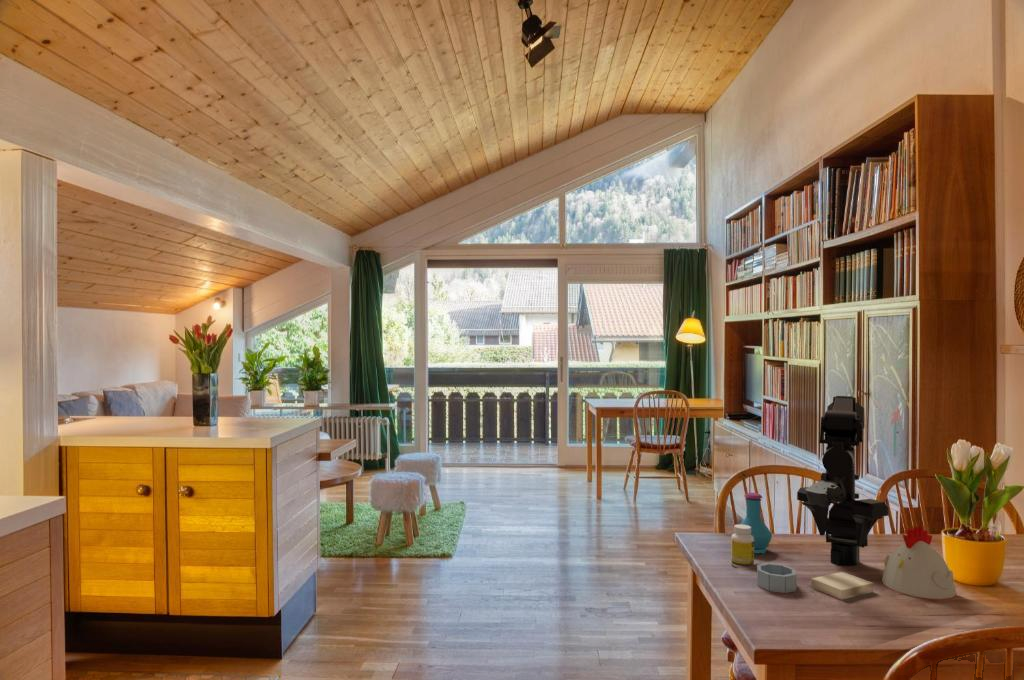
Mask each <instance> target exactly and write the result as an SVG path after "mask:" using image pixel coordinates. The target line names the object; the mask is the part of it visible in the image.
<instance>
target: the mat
mask: <svg viewBox="0 0 1024 680" xmlns="http://www.w3.org/2000/svg"><path fill="white" fill-rule="evenodd" d="M806 587H809V588H811V584H808V585H806ZM812 589H813V590H815V589H814V588H812ZM817 591H819V590H817ZM819 592H820V591H819ZM822 593H823V594H825V593H824V592H822ZM827 595H828V596H831V595H829V594H827ZM874 596H879V593H876V592H874V591H873V592H871V593H867V594H863V595H859V596H855V597H851V598H847V599H843V600H841V599H839V600H840V601H843V602H845V603H850V602H853V601H857V600H861V599H865V598H870V597H874ZM831 597H832V596H831ZM834 598H836V597H834ZM836 599H837V598H836Z"/></svg>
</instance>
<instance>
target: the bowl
mask: <svg viewBox="0 0 1024 680" xmlns="http://www.w3.org/2000/svg"><path fill="white" fill-rule="evenodd" d="M756 583H757V587H758V588H762V589H764V590H766V591H769V592H773V593H775V592H776V593H782V594H787V593H793V592H796V591H797V571H796V569H795V568H793V567H790V566H788V565H786V564H780V563H774V562H773V563H771V562H766V563H760V564H757V565H756Z"/></svg>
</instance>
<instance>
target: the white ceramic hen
mask: <svg viewBox="0 0 1024 680" xmlns="http://www.w3.org/2000/svg"><path fill="white" fill-rule="evenodd" d="M906 532H907V534H902V538H903V541H904V542H903V543H901V544H900V545H899V546H897V548H895V550H893V552H892V553H891V554H887V555H886V556H885V558H884V569H883V573H882V579H881V581H882V584H883V585H884V586H885V587H887V588H888V589H889V590H892V591H894V592H897V593H900V594H903V595H906V596H910V597H915V598H920V599H926V600H939V601H940V600H941V601H942V600H949V599H952V598H955V597H956V596H957V590H956V586H955V582H954V571H953V570H950V568H949V566H948V564H947V563H946V561H945V560H944V558H943V556H942V555H941V553H939V551H937V550H936V549H935V547H933V546H932V545H931V543H932V538H933V535H932V534H928V533H929V532H928V530H924V527H923V526H920V525H918V526H913V528H909V527H908V528H907V531H906Z"/></svg>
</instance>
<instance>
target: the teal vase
mask: <svg viewBox="0 0 1024 680" xmlns="http://www.w3.org/2000/svg"><path fill="white" fill-rule="evenodd" d="M744 497H745V502H746V505H745V506H746V510H745V511H746V512H745V513H746V516H745V517H744V519H743V520H742V521H741V523H740V524H742V525H748V526H750V527H751V534H750V535H751V536H753V538H754V553H762V554H765V553H764V552H766V551H767V548H768V547H769V544H770V542H771V539H772V531H770V529H769V528H768V526H767V525H766V524H765V522H764V520H763V519H762V518H761V501H762V498H763V496H762V495H761V493H758V492H757V493H756V492H747V493H745V494H744ZM766 553H767V552H766Z"/></svg>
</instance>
